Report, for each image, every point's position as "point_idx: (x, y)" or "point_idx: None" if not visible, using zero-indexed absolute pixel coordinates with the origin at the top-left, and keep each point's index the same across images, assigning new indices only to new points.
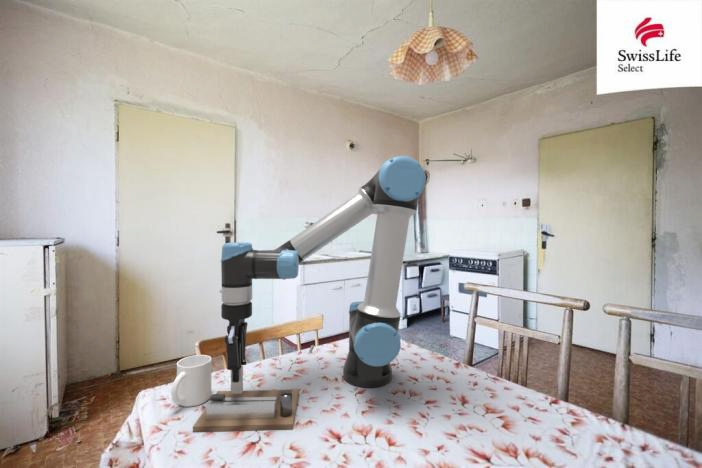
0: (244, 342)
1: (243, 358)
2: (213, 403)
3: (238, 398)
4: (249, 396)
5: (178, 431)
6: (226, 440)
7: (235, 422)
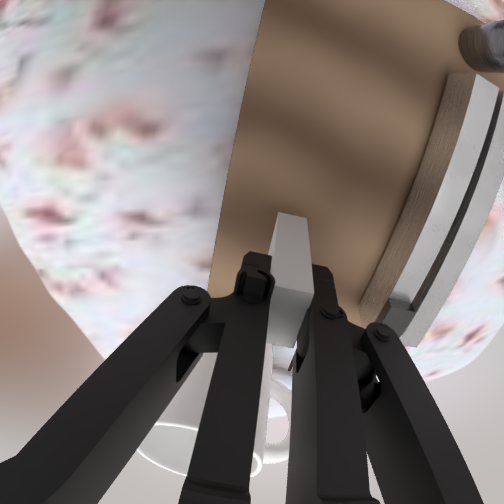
0: (132, 399)
1: (209, 304)
2: (413, 330)
3: (424, 247)
4: (288, 172)
5: None
6: (493, 247)
7: None
